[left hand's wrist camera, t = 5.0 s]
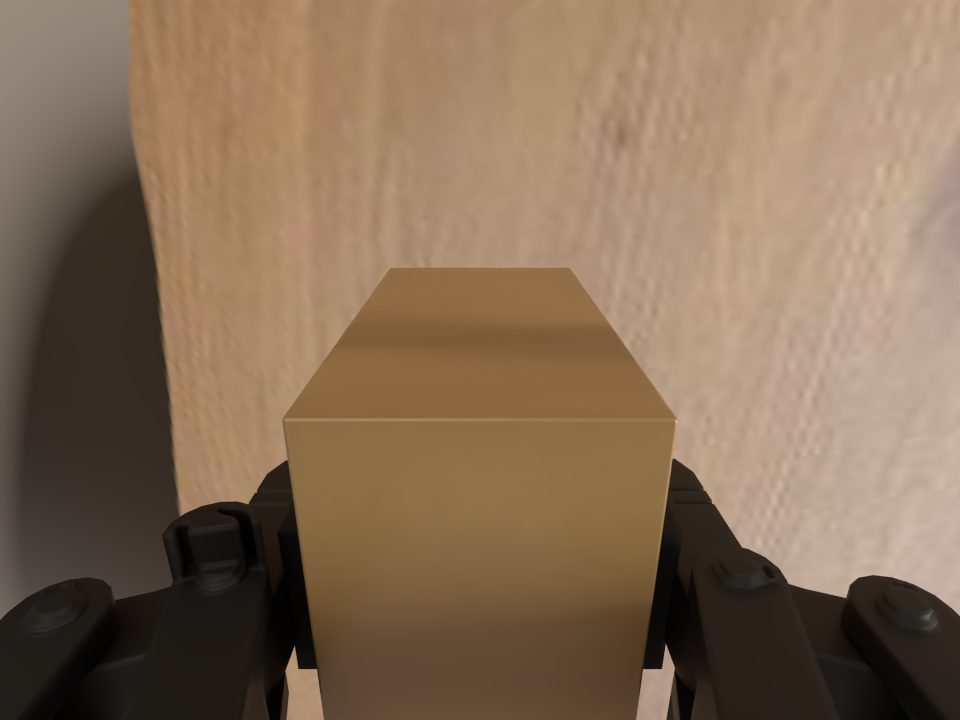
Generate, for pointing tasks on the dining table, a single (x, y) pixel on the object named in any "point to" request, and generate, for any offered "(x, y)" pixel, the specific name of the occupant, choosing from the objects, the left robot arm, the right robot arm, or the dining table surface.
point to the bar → (480, 502)
